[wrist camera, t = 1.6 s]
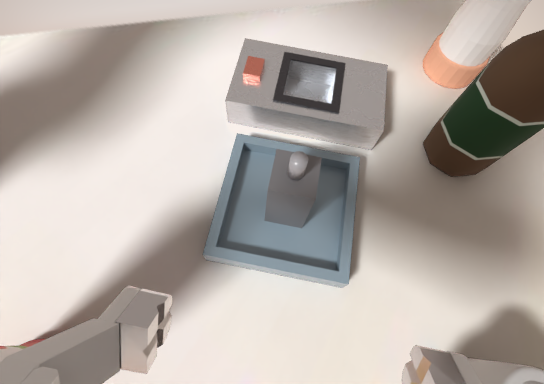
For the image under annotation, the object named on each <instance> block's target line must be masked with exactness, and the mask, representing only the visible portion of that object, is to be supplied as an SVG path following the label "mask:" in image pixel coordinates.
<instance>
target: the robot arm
mask: <svg viewBox="0 0 544 384" xmlns="http://www.w3.org/2000/svg"><path fill="white" fill-rule="evenodd" d="M171 306H172V296H171V295H169V294H164V293H160V292H156V291H151V290H147V289H141V288H137V287H133V286H127V287H125V288H124V289H123V290H122V291H121V293H120V294H119V295H118V296H117V297H116V298H115V299H114V301H113V302H112V303H111V304H110V305H109V306H108V308H107V309H106V310H105V311H104V312H103V313H102V314H101V316H100V317H99V318H98V319H95V318H92V319H90V320H88V321H86V322H83V323H81V324H79V325H77V326H74V327H72V328H70V329H68V330H65V331H63V332H61V333H59V334H56V335H54V336H52V337H50V338H47V339H45V340H43V341H41V342H38V343H36V344H34V345H32V346H29V347H27V348H25V349H23V350H20V351H18V352H16V353H14V354H11V355H9V356H7V357H6V358H4V359H3V360H2V361H1V362H0V384H102V383H104V382H105V381H106V380H108V379H109V378H110V377H112V376H113V375H115V374H116V373H117V372H119V371H120V369H122V370H128V371H133V372H139V373H144V374H147V373H148V371H149V369H150V367H151V365H152V364H153V362H154V360H155V358H156V356H157V348H158V347H160V346H161V345H163V343H164V341H165V339H166V337H167V334H168V332H169V329H170V324H171V316H172V315H171V314H170V312H169V309H170V308H171ZM410 356H411V359H412V360H411V361H409V362H408V363H406V364H405V366H404V369H403V372H402V384H482V383H481V381H480V380H479V378H478V376H477V374H476V373H475V371H474V369H473V367H472V366H471V364H470V362H469V360H468V359H467V357H466V356H465V355H463V354H460V353H454V352H449V351H442V350H437V349H432V348H427V347H422V346H417V345H415V346H414V347H413V348H412V350H411V352H410Z"/></svg>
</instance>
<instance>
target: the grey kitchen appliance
mask: <svg viewBox="0 0 544 384" xmlns="http://www.w3.org/2000/svg"><path fill="white" fill-rule="evenodd" d="M387 66H388V65H385V64H380V63H374V62H369V61H364V60H358V59H353V58H348V57H342V56H337V55H332V54H326V53H321V52H315V51H310V50H305V49H299V48H294V47H289V46H283V45H278V44H273V43H267V42H262V41H257V40H251V39H246V38H245V41H244V44H243V47H242V50H241V53H240V56H239V59H238V63H237V66H236V69H235V72H234V75H233V78H232V81H231V84H230V88H229V91H228V94H227V97H226V100H225V102H226V110H227V119H228V122H230V123H236V124H241V125H246V126H251V127H256V128H261V129H267V130H272V131H277V132H282V133H287V134H292V135H298V136H303V137H308V138H313V139H318V140H323V141H328V142H334V143H339V144H344V145H349V146H354V147H359V148H365V149H370V150H372V148H373V147H374V145H375V144H376V142H377V141H378V139H379V138H380V136H381V135H382V133H383V132H384V121H385V102H386V84H387Z"/></svg>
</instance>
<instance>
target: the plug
mask: <svg viewBox="0 0 544 384" xmlns="http://www.w3.org/2000/svg"><path fill="white" fill-rule="evenodd" d="M321 160H322V157H317V156H312V155H306V154H305V153H304V152H301V151H296V152H291V151H286V150H281V149H276V154H275V158H274V163H273V168H272V172H271V177H270V181H269V186H268V192H267V201H266V210H265V220H264V221H268V222H273V223H278V224H283V225H288V226H293V227H298V228H302V227H303V225H304V223H305V221H306V219H307V216H308V214H309V212H310V210H311V208H312V206H313V204H314V202H315V200H316V194H317V187H318V181H319V174H320V167H321Z"/></svg>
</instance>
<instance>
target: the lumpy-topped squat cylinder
mask: <svg viewBox="0 0 544 384" xmlns="http://www.w3.org/2000/svg"><path fill="white" fill-rule="evenodd" d="M467 359H468V360H469V362H470V364H471V366H472V367H473V369H474V371H475V373H476V374H477V376H478V378H479V380H480V381H481V383H482V384H544V370H542V369H539V368H536V367H533V366H528V365H520V364H513V363H506V362H498V361H490V360H482V359H474V358H467Z"/></svg>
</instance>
